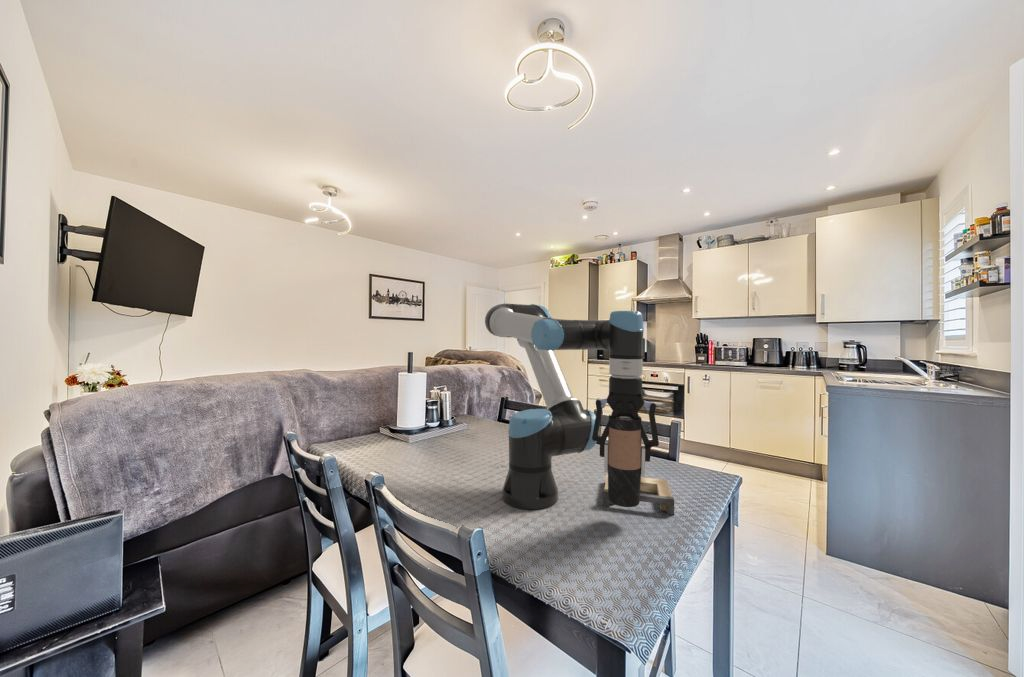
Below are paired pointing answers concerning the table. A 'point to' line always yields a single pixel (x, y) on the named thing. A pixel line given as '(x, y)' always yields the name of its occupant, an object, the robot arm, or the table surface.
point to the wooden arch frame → (650, 486)
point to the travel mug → (624, 461)
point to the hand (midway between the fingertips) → (624, 472)
